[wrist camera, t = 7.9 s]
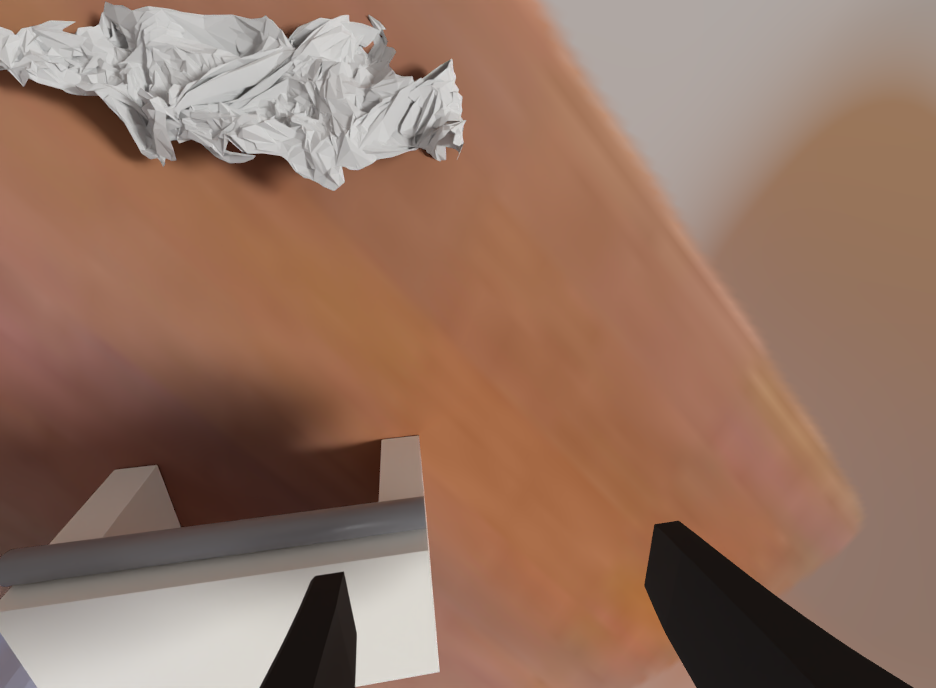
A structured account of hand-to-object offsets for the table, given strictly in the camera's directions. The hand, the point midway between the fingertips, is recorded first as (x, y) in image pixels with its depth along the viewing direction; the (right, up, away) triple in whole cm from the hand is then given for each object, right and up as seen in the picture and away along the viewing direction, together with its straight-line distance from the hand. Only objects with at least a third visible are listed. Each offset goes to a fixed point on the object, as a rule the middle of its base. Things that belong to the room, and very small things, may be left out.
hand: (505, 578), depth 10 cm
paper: (-9, +13, +4) cm, 16 cm away
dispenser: (-9, -2, +10) cm, 13 cm away
